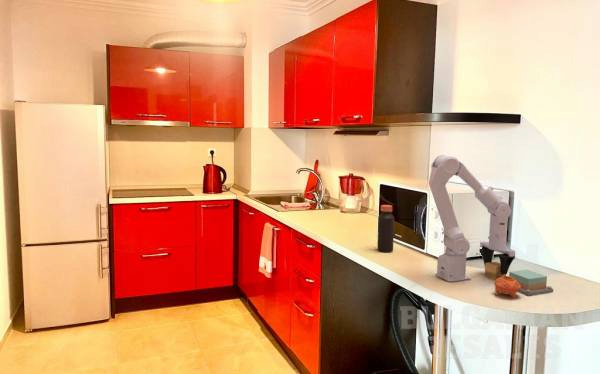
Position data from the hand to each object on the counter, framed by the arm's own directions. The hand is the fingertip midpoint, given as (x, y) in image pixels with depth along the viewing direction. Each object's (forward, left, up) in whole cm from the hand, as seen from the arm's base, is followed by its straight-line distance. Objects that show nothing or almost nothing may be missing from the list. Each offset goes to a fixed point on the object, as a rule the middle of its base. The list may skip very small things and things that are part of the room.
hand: (495, 271), depth 164 cm
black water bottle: (-18, +45, -3) cm, 49 cm away
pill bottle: (+16, +21, -3) cm, 26 cm away
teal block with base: (+1, -13, -2) cm, 13 cm away
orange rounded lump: (-10, -15, -3) cm, 19 cm away
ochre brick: (0, 0, -2) cm, 2 cm away
